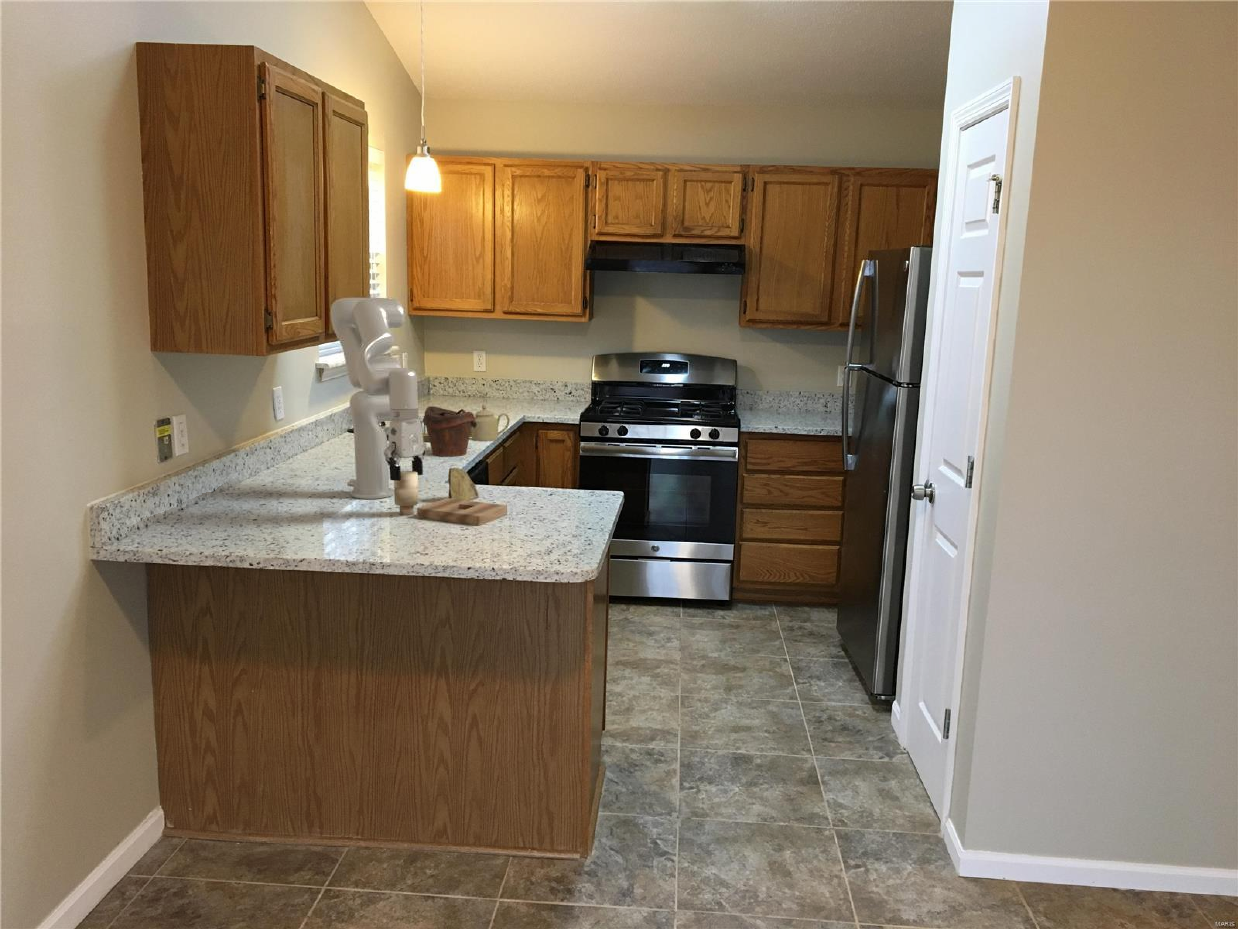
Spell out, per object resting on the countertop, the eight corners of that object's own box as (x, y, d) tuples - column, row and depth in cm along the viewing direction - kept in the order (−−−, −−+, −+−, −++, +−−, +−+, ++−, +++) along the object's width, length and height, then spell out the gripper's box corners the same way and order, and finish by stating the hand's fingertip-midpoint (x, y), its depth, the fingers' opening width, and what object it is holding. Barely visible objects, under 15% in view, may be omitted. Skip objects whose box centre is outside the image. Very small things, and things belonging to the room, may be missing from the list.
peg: (390, 515, 257) (388, 474, 255) (404, 510, 263) (403, 470, 261) (409, 517, 255) (407, 476, 252) (423, 512, 260) (422, 472, 258)
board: (417, 517, 255) (417, 508, 254) (447, 507, 267) (446, 498, 267) (479, 525, 247) (479, 516, 246) (507, 514, 259) (507, 505, 259)
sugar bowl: (497, 435, 401) (497, 401, 398) (511, 439, 392) (510, 403, 390) (466, 438, 392) (466, 403, 390) (479, 442, 384) (479, 405, 381)
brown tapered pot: (479, 456, 349) (478, 408, 346) (425, 459, 344) (423, 410, 341) (474, 449, 366) (473, 404, 363) (422, 451, 361) (420, 405, 358)
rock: (476, 487, 284) (444, 484, 281) (483, 468, 279) (449, 465, 275) (479, 514, 277) (446, 512, 274) (486, 495, 271) (452, 493, 268)
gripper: (395, 418, 244) (398, 483, 247) (434, 412, 260) (436, 473, 262) (372, 417, 247) (375, 481, 250) (412, 411, 263) (414, 472, 266)
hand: (406, 477), depth 256 cm, fingers open, 9 cm apart
